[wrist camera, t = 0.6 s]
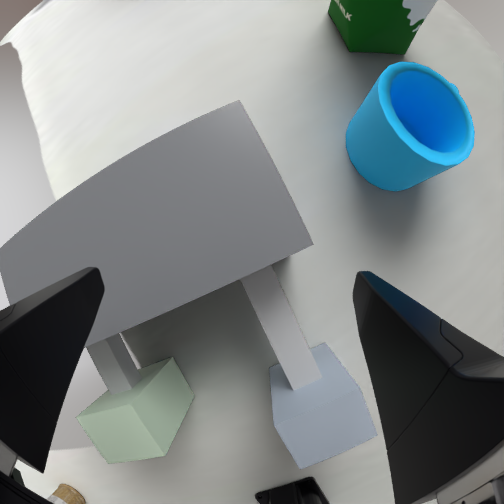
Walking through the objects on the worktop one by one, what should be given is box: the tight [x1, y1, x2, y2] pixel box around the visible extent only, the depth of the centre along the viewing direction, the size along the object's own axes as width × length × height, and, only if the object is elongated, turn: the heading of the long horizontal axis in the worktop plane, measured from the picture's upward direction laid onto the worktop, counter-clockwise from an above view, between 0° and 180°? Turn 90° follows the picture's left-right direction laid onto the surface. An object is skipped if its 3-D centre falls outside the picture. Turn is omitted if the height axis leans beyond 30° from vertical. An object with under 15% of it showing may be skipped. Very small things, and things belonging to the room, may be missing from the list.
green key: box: [76, 333, 194, 464], centre depth 18 cm, size 14×5×9 cm, turn 25°
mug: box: [346, 62, 475, 191], centre depth 19 cm, size 12×8×8 cm
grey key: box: [240, 265, 377, 469], centre depth 18 cm, size 16×5×9 cm, turn 25°
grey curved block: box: [0, 100, 313, 348], centre depth 18 cm, size 8×18×10 cm, turn 115°
